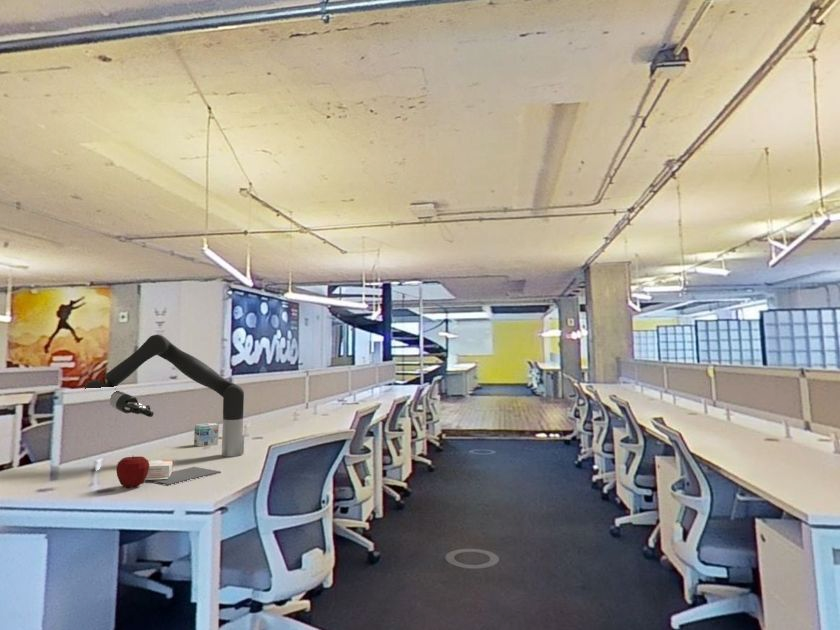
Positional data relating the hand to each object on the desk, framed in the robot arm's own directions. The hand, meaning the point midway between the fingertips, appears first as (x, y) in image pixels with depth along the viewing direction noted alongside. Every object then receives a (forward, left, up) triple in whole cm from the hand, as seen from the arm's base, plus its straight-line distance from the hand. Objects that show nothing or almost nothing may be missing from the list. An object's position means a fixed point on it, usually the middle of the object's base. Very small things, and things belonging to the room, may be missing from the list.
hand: (151, 414), depth 227 cm
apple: (+22, +22, -23) cm, 38 cm away
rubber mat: (+2, +24, -23) cm, 33 cm away
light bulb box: (-50, -24, -23) cm, 60 cm away
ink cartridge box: (+3, +12, -20) cm, 23 cm away
